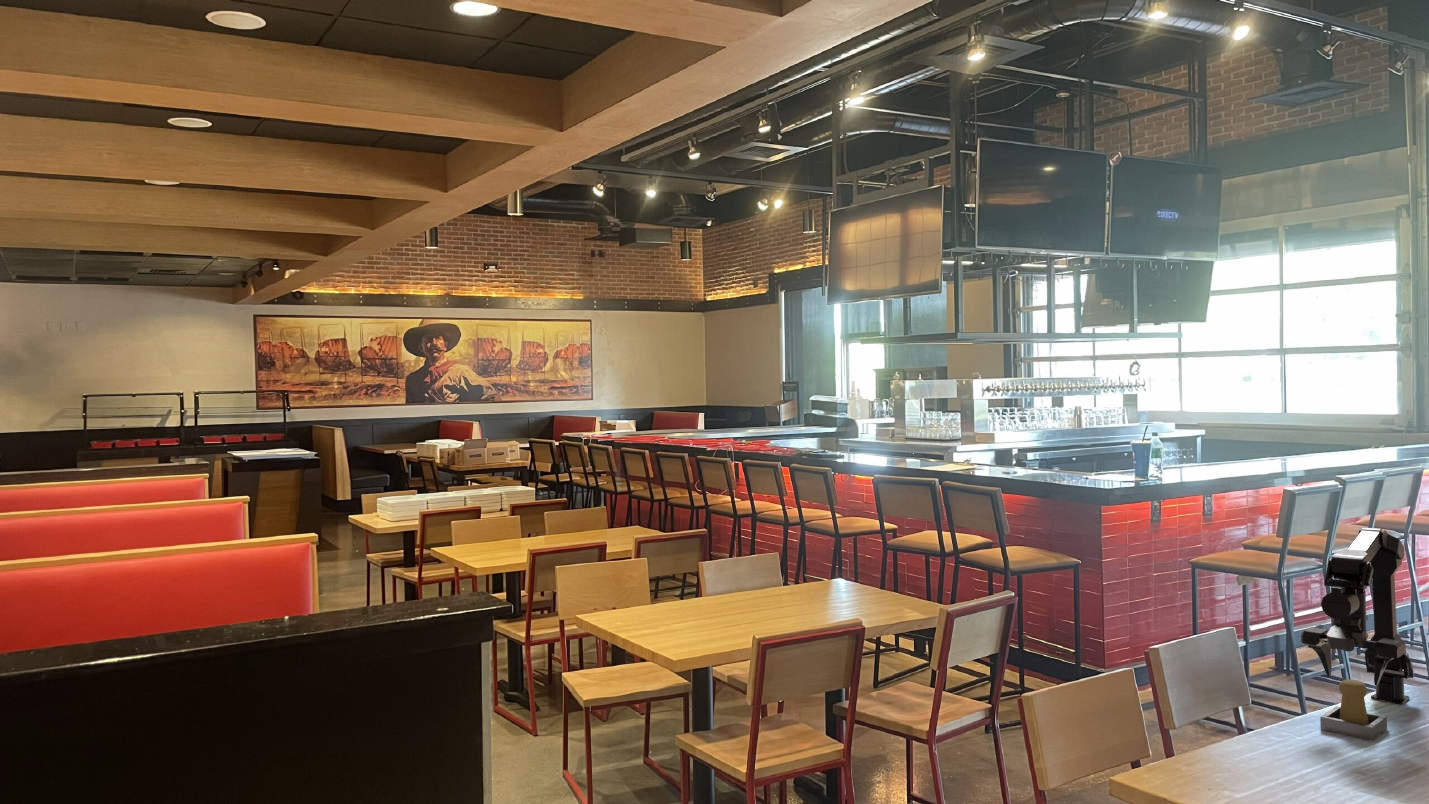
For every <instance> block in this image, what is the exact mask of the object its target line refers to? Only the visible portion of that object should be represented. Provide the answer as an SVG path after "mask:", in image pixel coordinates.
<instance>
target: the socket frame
mask: <svg viewBox="0 0 1429 804" xmlns="http://www.w3.org/2000/svg"><path fill="white" fill-rule="evenodd" d="M1340 708H1341V706H1336V705H1335V706H1334V707H1333V708H1331V709H1330V710H1328V711H1327V712H1325V713H1324V714H1322V715H1321V716H1320V717H1319V719H1320V720H1319V721H1320V722H1319V723H1320V730H1321V731H1323V732H1329V733H1332V734H1336V735H1342V736H1346V737H1350V738H1356V739H1359V740H1363V741H1369V742H1373V741H1375V740H1376V739H1378V738H1379V737H1380V736H1381V735H1382V734H1384V733H1386V731H1388V717H1387V716H1386V715H1380V714H1375V713H1371V712H1367V717H1368V723H1369V725H1364V724H1359V723H1354V722H1350V721H1345V720H1340V719H1339V716H1340Z"/></svg>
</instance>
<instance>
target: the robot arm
mask: <svg viewBox="0 0 1429 804" xmlns="http://www.w3.org/2000/svg"><path fill="white" fill-rule="evenodd" d="M1357 534H1358V535H1357V536H1356V538H1355V539H1354V541H1353V542H1352V543H1351V544H1350V546H1348V548H1347V549H1346V550H1345V549H1344V550H1338V551H1337V552H1335V553H1334V554H1332V557H1331V558H1329V559H1328V563H1327V568H1326V573H1325V577H1324V582H1323V586H1324V587H1331V588H1330V592H1328V593H1327V594H1325V595H1324V596H1323V597H1322V600H1321V602H1320V606H1321V609H1322V611H1323V613H1324V614H1325V615H1326V616H1328V617H1329V618H1331V619H1333V624H1332V625H1331V626H1330V627H1329V629H1326V628H1318V627H1309V628H1307V629H1305V630H1304V631H1302V632H1301V635H1300V642H1301V644H1305V645H1307V648H1309V649H1312V650H1313V651H1314V652H1315V653H1316V654H1317V656H1318V658H1319V660H1320V662H1321V664H1322V666H1323V670H1324V671H1325V674H1326V676H1327V677H1329V678H1330V677H1331V676H1332V650H1339V651H1341V650H1343V651H1344V652H1352V651H1354V650H1355V648H1360V649H1365V651H1364V661H1365V667H1366V668H1365V670H1366V673H1372V674H1373V684H1374V686H1375V693H1376V694H1375V693H1373V694H1374V695H1373V694H1372V695H1370V699H1373V700H1377V701H1383V702H1388V703H1393V704H1399V705H1403V704H1405V703H1406V702H1407V701H1409V700H1410V696H1409V695H1405V679H1407V680H1408V679H1414V678H1415V672H1414V665H1413V663H1412V659H1411V658H1410V655H1409V654H1408V653H1407V647H1406V643H1405V642H1404V640H1403V639H1402V638H1401V636H1400V635H1399V634H1398V629H1397V628H1398V627H1397V626H1398V623H1397V606H1396V605H1397V604H1396V602H1397V601H1396V585H1395V584H1396V583H1395V582H1396V581H1395V579H1396V578H1395V574H1396V573H1397V571H1398V570H1399V568H1400V567H1401V566H1402V563H1403V560H1404V557H1405V546H1404V544H1403V543H1402V541H1401V540H1400V539H1399V538H1398V537H1396V536H1394V535H1391V534H1389V533H1388V532H1387V530H1386V529H1383V528H1375V527H1363V528H1359V529H1358V533H1357ZM1370 585H1371V589H1372V606H1373V607H1372V608H1373V609H1372V610H1373V631H1374V632H1373V633H1374V634H1373V636H1372V637H1371V638H1370V639H1369V640H1368V638H1369V633H1368V631H1367V620H1368V614H1367V597H1366V595H1367V594H1366V590H1367V588H1368V587H1370Z"/></svg>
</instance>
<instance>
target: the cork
mask: <svg viewBox="0 0 1429 804" xmlns="http://www.w3.org/2000/svg"><path fill="white" fill-rule="evenodd" d="M1338 690H1339V693H1340V694H1341V702H1340V703H1341V704H1340V707H1341V708H1340V716H1339V719H1340V720H1345V721H1350V722H1354V723H1359V724H1364V725H1369V723H1368V717H1367V713H1368V712H1367V707H1366V702H1365V697H1366V695H1367V692H1368V689H1367V686H1366V684H1365V683H1364V682H1363V681H1360V680H1356V679H1344V680H1342V681H1340V683H1339V685H1338Z"/></svg>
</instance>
